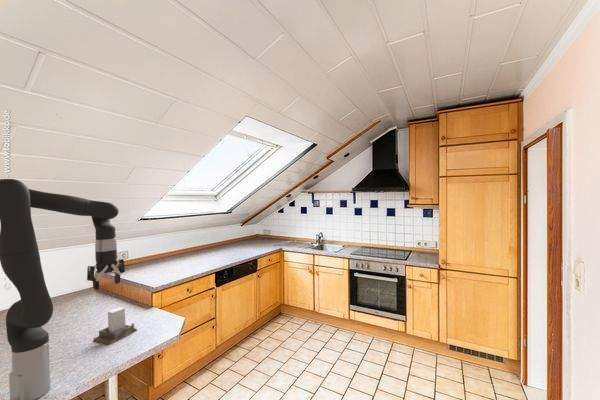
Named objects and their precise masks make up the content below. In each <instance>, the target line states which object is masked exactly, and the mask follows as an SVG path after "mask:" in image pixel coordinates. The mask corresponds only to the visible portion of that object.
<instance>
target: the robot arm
mask: <svg viewBox="0 0 600 400" xmlns="http://www.w3.org/2000/svg"><path fill="white" fill-rule="evenodd" d="M31 208H33V209H41V210H46V211H51V212H56V213H61V214H66V215H67V214H68V215H74V216H79V217H80V216H82V217H91V220H92V223H93V227H94V230H95V244H94V251H95V253H94V255H95V263H96V264H95V265H88V266H87V269H86V273H87V275H86V281H89V282H92V288H93V290H94V291H98V290H100V278H101V277H103V276H104V274H105V275H106V274H108V273H113V274H114V284H115V285H117V284H118V285H119V284H120V282H121V274H123V273H125V272H126V268H125V260H124V259H121V258H120V259H118V249H117V247H118V246H117V239H116V237H117V236H116V226H115V225H113V224H111V221H110V220H113V219H115V218H116V217H117V216H118V214H119V212H120V211H119V208H118V206H117V205H115V204H114V203H111V202H107V201H100V200H99V201H98V200H92V199H87V198H84V197H80V196H74V195H67V194H60V193H53V192H46V191H40V190H36V189H31V188H28V186H27V185H26V184H25V183H24V182H22V180H21V181H20V180H18V179H15V178H0V265H1V268H2V270H3V272H4V274H5V276H6V277H7V278H8V280H9V281H10V282H11V283H12V284H13V286H14V287H15V288H16V290H17V291H18V293H19V297H20V299H19V300H17V301H16V302H14V303H12V304H11V305H10V307H9V308H8V310H7V312H6V316H5V328H6V336H7V337H6V338H7V343H8V344H9V346H10V349H11V372H10V373H8V377H9V381H8V382H9V400H38V399H40V398H41V397H43V396H45V395H46V394H47V393H48V392H49V391H50V389H51V368H50V367H51V366H50V365H51V363H50V339H49V338H50V335H49V333H48V331H47V330H45V329H44V328H43V326H46V324H47V323H48V322H49V321H50V320H51V319H52V317H53V313H54V305H53V301H52V298H51V296H50V293H49V290H48V287H47V283H46V280H45V277H44V272H43V267H42V262H41V255H40V252H39V251H40V250H39V246H38V242H37V237H36V232H35V228H34V224H33V220H32V219H33V218H32V212H31V210H32V209H31Z"/></svg>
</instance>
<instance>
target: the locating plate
mask: <svg viewBox="0 0 600 400" xmlns="http://www.w3.org/2000/svg"><path fill="white" fill-rule="evenodd" d="M136 331H138V329H137V328H135V323H134V322H133V323H131V324H130V325H128V324H126V328H125V329H123V330H121V331H119V332H117V333H111V332H109V327H108V326H107V327H105V328H103V329H101V330H98V336H96V337H94V338H93V341H94V342H97V343H102V344H104V345H108V346H109V345H111V344H113V343H115V342H117V341H119V340H121V339H123V338H126V337H127V336H129V335H131V334H133V333H135V332H136Z"/></svg>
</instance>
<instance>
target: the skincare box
mask: <svg viewBox="0 0 600 400" xmlns="http://www.w3.org/2000/svg"><path fill="white" fill-rule="evenodd" d="M107 323H108V324H107V325H108V326H107V327H109V332H111V333H117V332H119V331H121V330H123V329H125V328H126V325H127V324H126V308H124V307H122V306H119V307H117V308H114V309H112V310H108V311H107Z"/></svg>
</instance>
